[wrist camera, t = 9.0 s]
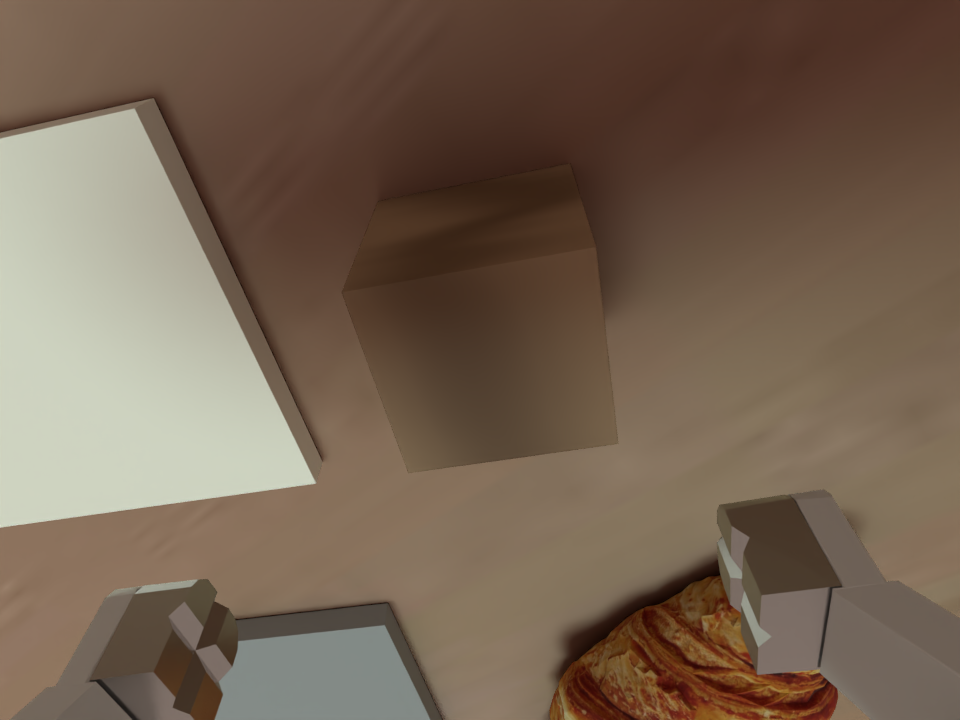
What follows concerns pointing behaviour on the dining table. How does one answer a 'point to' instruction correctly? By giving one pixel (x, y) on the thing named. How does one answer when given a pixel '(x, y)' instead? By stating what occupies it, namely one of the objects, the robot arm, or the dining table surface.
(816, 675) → the croissant
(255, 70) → the dining table surface
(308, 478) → the pad
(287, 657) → the pad
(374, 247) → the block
